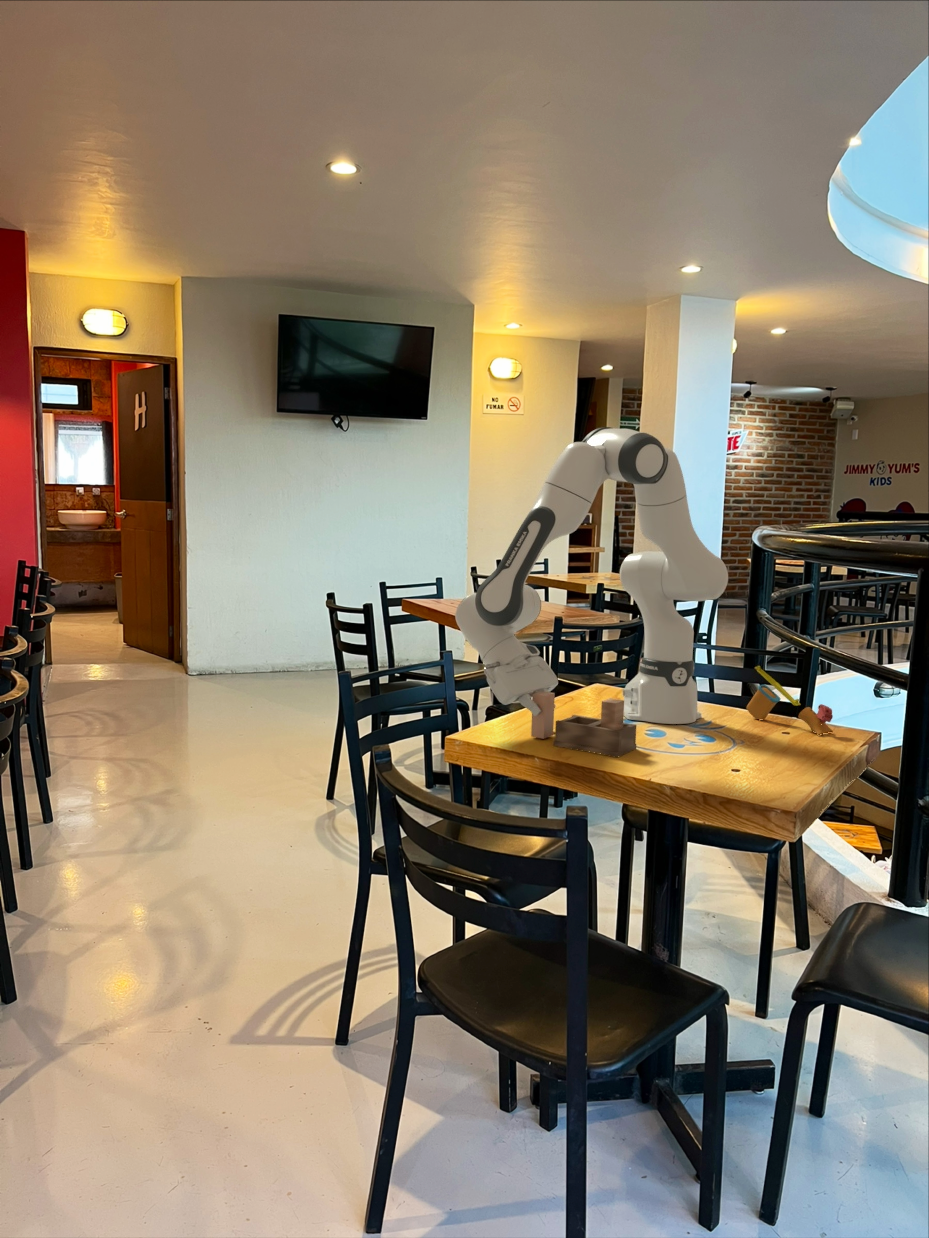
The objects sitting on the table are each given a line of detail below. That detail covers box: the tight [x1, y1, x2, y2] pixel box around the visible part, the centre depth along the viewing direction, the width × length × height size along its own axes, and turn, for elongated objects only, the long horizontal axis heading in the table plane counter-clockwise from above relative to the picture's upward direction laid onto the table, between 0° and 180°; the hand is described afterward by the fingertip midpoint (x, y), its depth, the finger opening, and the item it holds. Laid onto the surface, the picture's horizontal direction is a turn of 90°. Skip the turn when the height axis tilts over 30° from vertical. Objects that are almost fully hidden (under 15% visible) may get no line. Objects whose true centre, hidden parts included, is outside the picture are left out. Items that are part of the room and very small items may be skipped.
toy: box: [746, 665, 834, 736], centre depth 209 cm, size 5×22×15 cm
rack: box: [553, 698, 637, 758], centre depth 183 cm, size 14×9×10 cm, turn 56°
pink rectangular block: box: [530, 691, 555, 740], centre depth 190 cm, size 3×4×9 cm
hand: (545, 711), depth 189 cm, fingers closed on pink rectangular block, 4 cm apart
